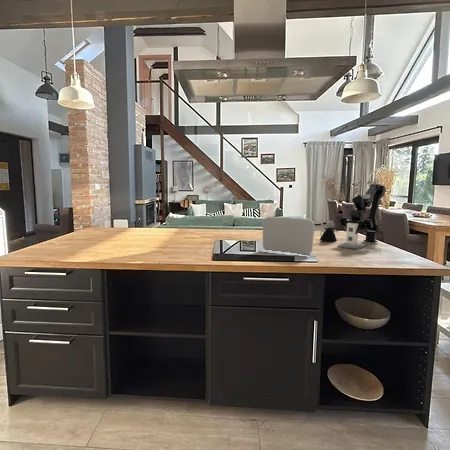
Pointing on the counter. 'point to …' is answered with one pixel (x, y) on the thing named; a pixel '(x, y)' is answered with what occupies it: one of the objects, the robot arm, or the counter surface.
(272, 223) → the wireless router
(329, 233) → the toy
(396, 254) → the counter surface
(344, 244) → the bracket plate
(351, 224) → the cream rectangular prism
